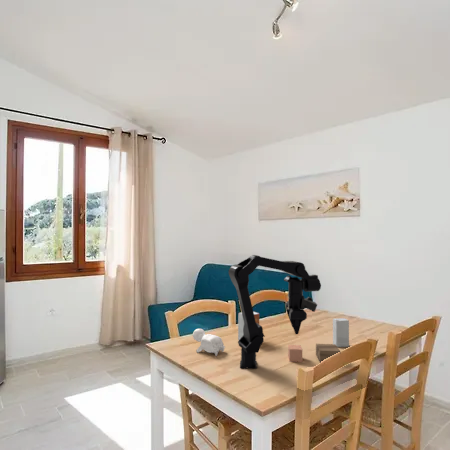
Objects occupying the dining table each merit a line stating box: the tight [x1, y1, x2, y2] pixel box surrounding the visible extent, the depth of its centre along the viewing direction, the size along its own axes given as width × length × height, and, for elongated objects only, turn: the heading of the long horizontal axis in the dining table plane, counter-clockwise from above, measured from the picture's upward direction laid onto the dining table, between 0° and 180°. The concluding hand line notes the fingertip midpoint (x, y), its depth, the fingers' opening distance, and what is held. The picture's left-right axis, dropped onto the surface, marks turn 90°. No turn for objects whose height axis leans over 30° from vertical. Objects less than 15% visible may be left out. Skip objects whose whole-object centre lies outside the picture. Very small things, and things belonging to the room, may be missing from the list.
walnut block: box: [315, 343, 341, 363], centre depth 138 cm, size 8×8×5 cm
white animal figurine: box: [192, 328, 226, 357], centre depth 147 cm, size 9×8×15 cm
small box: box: [237, 311, 260, 341], centre depth 160 cm, size 8×6×13 cm
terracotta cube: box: [287, 344, 303, 363], centre depth 138 cm, size 5×5×5 cm
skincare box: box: [332, 317, 350, 348], centre depth 154 cm, size 6×4×12 cm
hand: (295, 330), depth 138 cm, fingers open, 9 cm apart
